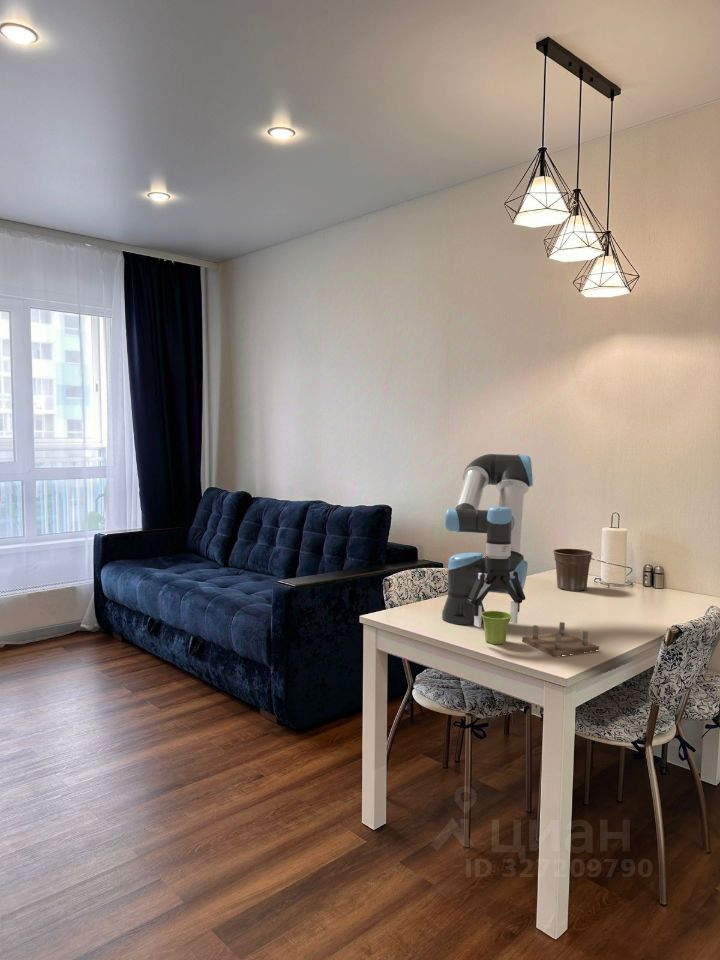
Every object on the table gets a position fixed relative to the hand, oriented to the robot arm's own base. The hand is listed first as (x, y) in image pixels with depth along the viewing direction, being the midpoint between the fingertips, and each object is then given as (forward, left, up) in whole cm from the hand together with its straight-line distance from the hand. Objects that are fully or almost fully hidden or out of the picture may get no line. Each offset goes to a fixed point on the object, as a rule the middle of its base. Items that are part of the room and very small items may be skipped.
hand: (495, 624), depth 210 cm
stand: (+11, +16, -6) cm, 20 cm away
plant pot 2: (-53, +77, -6) cm, 94 cm away
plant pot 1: (0, 0, -6) cm, 6 cm away
